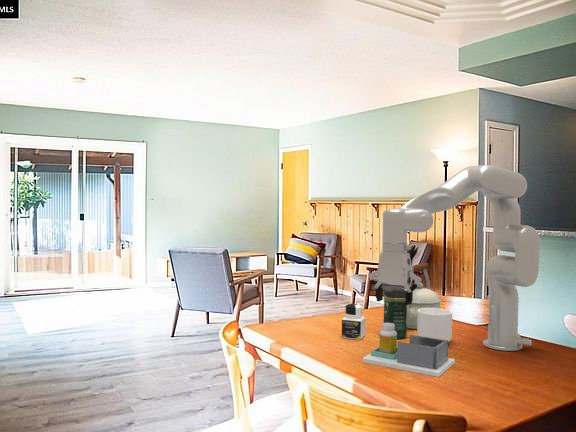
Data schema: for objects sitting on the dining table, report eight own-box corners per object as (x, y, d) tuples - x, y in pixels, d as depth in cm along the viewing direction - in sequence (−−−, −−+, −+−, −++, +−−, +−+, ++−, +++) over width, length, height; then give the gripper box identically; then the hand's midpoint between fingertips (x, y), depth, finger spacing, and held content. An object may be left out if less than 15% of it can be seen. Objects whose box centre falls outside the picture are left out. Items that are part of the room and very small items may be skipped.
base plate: (455, 363, 164) (455, 354, 164) (438, 377, 150) (438, 367, 150) (382, 350, 177) (383, 342, 177) (362, 362, 164) (362, 353, 164)
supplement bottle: (392, 357, 164) (393, 326, 164) (376, 355, 167) (377, 324, 167) (398, 353, 169) (399, 323, 168) (383, 351, 171) (383, 321, 171)
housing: (447, 359, 163) (448, 340, 162) (436, 369, 153) (436, 348, 153) (410, 353, 169) (410, 334, 169) (397, 361, 160) (397, 342, 160)
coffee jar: (409, 339, 192) (410, 288, 191) (388, 339, 191) (388, 288, 190) (401, 332, 201) (401, 284, 201) (380, 333, 200) (381, 284, 200)
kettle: (407, 317, 228) (408, 260, 227) (449, 323, 217) (450, 263, 216) (381, 328, 207) (382, 265, 207) (426, 336, 197) (428, 269, 196)
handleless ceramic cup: (419, 346, 182) (420, 313, 182) (414, 337, 194) (415, 307, 194) (454, 348, 181) (455, 315, 181) (448, 339, 193) (449, 308, 193)
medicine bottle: (341, 338, 192) (341, 305, 192) (346, 333, 199) (347, 302, 199) (360, 340, 190) (361, 307, 189) (365, 335, 196) (365, 303, 196)
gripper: (425, 249, 164) (424, 303, 164) (374, 246, 174) (373, 297, 174) (416, 250, 158) (415, 307, 158) (364, 247, 168) (363, 301, 168)
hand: (393, 302), depth 166 cm, fingers open, 9 cm apart
